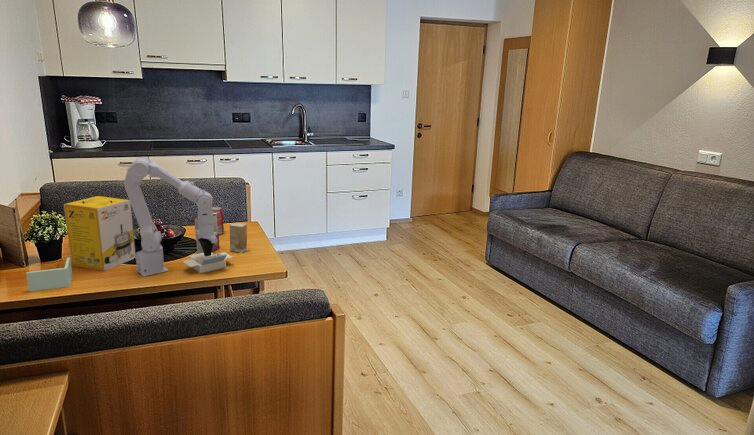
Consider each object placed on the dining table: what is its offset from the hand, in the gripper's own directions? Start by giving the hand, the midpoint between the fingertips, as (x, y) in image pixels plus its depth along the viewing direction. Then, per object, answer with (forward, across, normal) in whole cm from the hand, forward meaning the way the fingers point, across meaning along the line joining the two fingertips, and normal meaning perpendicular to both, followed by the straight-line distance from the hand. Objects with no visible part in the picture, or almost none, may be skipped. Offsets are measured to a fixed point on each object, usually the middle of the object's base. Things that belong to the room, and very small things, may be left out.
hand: (207, 255), depth 196 cm
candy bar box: (+5, +18, -8) cm, 20 cm away
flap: (0, -6, 0) cm, 6 cm away
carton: (+5, +2, 0) cm, 5 cm away
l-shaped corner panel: (+6, +19, +50) cm, 54 cm away
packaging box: (+5, +31, +30) cm, 43 cm away
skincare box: (+5, +11, -19) cm, 23 cm away
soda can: (+5, +40, -22) cm, 46 cm away
